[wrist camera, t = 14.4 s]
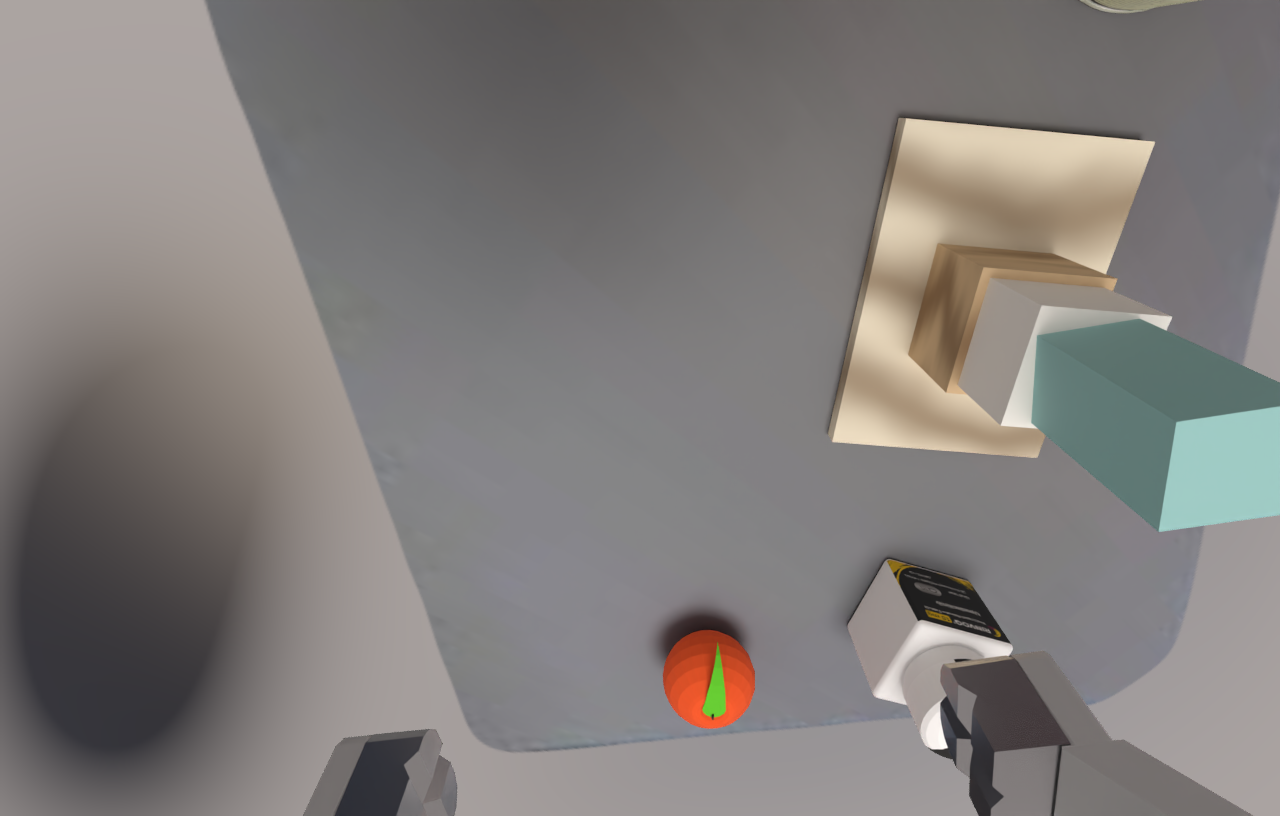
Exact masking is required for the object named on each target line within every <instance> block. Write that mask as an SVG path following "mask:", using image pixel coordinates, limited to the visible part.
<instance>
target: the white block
mask: <svg viewBox="0 0 1280 816" xmlns="http://www.w3.org/2000/svg"><path fill="white" fill-rule="evenodd" d="M1134 319H1142V320H1144V321H1146V322H1149V323H1151V324H1153V325H1155V326H1157V327H1159V328H1162V329H1164V330H1167V328H1168V326H1169V323H1170V321H1171V319H1172V316H1170V315H1167V314H1165V313H1163V312H1160V311H1158V310H1155V309H1153V308H1151V307H1148V306H1146V305H1144V304H1141V303H1139V302H1137V301H1134V300H1132V299H1130V298H1127V297H1125V296H1123V295H1120V294H1118V293H1116V292H1113V291H1111V290H1109V289H1106V288H1102V287H1091V286H1079V285H1068V284H1056V283H1045V282H1033V281H1022V280H1010V279H999V278H990V280H989V283H988V287H987V290H986V293H985V296H984V300H983V303H982V306H981V310H980V313H979V316H978V320H977V323H976V326H975V329H974V333H973V336H972V339H971V343H970V346H969V349H968V353H967V356H966V359H965V362H964V366H963V369H962V372H961V376H960V379H959V382H958V386H959V387H960V388H961V389H962V390H963V391H964V392H965V393H966V394H967V395H968V396H969V397H970V398H972V399H973V400H974V401H975V402H976V403H977V404H978V405H979V406H980V407H981V408H982V409H983V410H984V411H985V412H987V413H988V414H989V415H990V416H991V417H992V418H993V419H994V420H995V421H996V422H997V423H998V424H999V425H1000V426H1010V427H1023V428H1035V429H1038V428H1037V427H1035V426H1034V425H1033V424H1032V423H1031V418H1032V403H1033V387H1034V372H1035V357H1036V341H1037V335H1042V334H1048V333H1054V332H1060V331H1066V330H1073V329H1079V328H1085V327H1091V326H1097V325H1103V324H1109V323H1116V322H1122V321H1128V320H1134Z"/></svg>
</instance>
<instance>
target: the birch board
mask: <svg viewBox="0 0 1280 816" xmlns="http://www.w3.org/2000/svg"><path fill="white" fill-rule="evenodd" d="M1154 144H1155V142H1151V141H1141V140H1131V139H1120V138H1110V137H1099V136H1088V135H1078V134H1067V133H1057V132H1046V131H1035V130H1025V129H1014V128H1004V127H993V126H983V125H972V124H961V123H951V122H940V121H930V120H919V119H908V118H899V119H898V124H897V128H896V133H895V137H894V141H893V146H892V150H891V155H890V159H889V164H888V168H887V173H886V177H885V182H884V186H883V190H882V195H881V199H880V204H879V208H878V213H877V217H876V222H875V226H874V231H873V235H872V239H871V244H870V248H869V253H868V257H867V262H866V266H865V271H864V275H863V280H862V284H861V288H860V293H859V297H858V302H857V306H856V311H855V315H854V320H853V324H852V329H851V333H850V337H849V342H848V346H847V351H846V355H845V360H844V364H843V369H842V373H841V378H840V382H839V386H838V391H837V395H836V400H835V404H834V409H833V413H832V418H831V422H830V427H829V431H828V435H829V437H830V439H831V440H832V442H841V443H853V444H866V445H879V446H892V447H905V448H917V449H930V450H943V451H956V452H968V453H981V454H994V455H1007V456H1019V457H1032V458H1037V457H1038V454H1039V451H1040V449H1041V446H1042V443H1043V441H1044V438H1045V434H1044V433H1042V432H1041V431H1040V430H1039V429H1035V428H1023V427H1010V426H1000V425H999V424H998V423H997V422H996V421H995V420H994V419H993V418H992V417H991V416H990V415H989V414H988V413H987V412H985V411H984V410H983V409H982V408H981V407H980V406H979V405H978V404H977V403H976V402H975V401H974V400H973V399H972V398H970V397H969V396H968V395H965V394H952V393H946V392H945V391H944V390H943V389H942V388H941V387H940V386H939V385H938V384H937V383H936V382H935V381H934V380H933V379H932V378H931V377H930V376H929V375H928V374H927V373H926V372H925V371H924V370H923V369H922V368H921V367H920V366H919V365H918V364H917V363H916V362H915V361H914V360H913V359H912V358H911V357H909V356H908V353H909V349H910V345H911V342H912V338H913V334H914V330H915V327H916V323H917V319H918V315H919V311H920V308H921V304H922V300H923V296H924V293H925V289H926V285H927V281H928V277H929V274H930V270H931V266H932V262H933V259H934V255H935V251H936V247H937V244H938V243H939V244H950V245H961V246H973V247H984V248H995V249H1006V250H1018V251H1029V252H1040V253H1052V254H1056V255H1058V256H1061V257H1063V258H1066V259H1068V260H1071V261H1074V262H1076V263H1079V264H1081V265H1084V266H1086V267H1089V268H1091V269H1094V270H1096V271H1099V272H1101V273H1104V274H1106V272H1107V269H1108V267H1109V264H1110V261H1111V259H1112V256H1113V253H1114V251H1115V248H1116V245H1117V243H1118V240H1119V237H1120V235H1121V232H1122V229H1123V227H1124V224H1125V221H1126V219H1127V216H1128V213H1129V211H1130V208H1131V205H1132V203H1133V200H1134V197H1135V195H1136V192H1137V189H1138V187H1139V184H1140V181H1141V178H1142V176H1143V173H1144V170H1145V168H1146V165H1147V162H1148V160H1149V157H1150V154H1151V152H1152V149H1153V146H1154Z"/></svg>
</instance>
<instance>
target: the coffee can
mask: <svg viewBox="0 0 1280 816" xmlns="http://www.w3.org/2000/svg"><path fill="white" fill-rule="evenodd" d="M1079 1H1081V2H1083V3H1085V4H1086V5H1088V6H1090V7H1092V8H1095V9H1097V10H1101V11H1104V12H1111V13H1133V12H1140V11H1146V10H1149V9H1152V8H1155V7H1161V6H1168V5H1174V4H1181V3H1187V2H1193V1H1200V0H1079Z"/></svg>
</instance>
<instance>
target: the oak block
mask: <svg viewBox="0 0 1280 816" xmlns="http://www.w3.org/2000/svg"><path fill="white" fill-rule="evenodd" d="M990 278H999V279H1010V280H1022V281H1033V282H1045V283H1056V284H1068V285H1079V286H1091V287H1102V288H1106V289H1109V290H1111V291H1113V289H1114V287H1115V284H1116V281H1117V279H1116V278H1114V277H1111V276H1109V275H1106V274H1104V273H1101V272H1099V271H1096V270H1094V269H1091V268H1089V267H1086V266H1084V265H1081V264H1079V263H1076V262H1074V261H1071V260H1068V259H1066V258H1063V257H1061V256H1058V255H1056V254H1052V253H1040V252H1029V251H1018V250H1006V249H995V248H984V247H973V246H961V245H950V244H939V243H938V244H937V247H936V251H935V255H934V259H933V262H932V266H931V270H930V274H929V277H928V281H927V285H926V289H925V293H924V296H923V300H922V304H921V308H920V311H919V315H918V319H917V323H916V327H915V330H914V334H913V338H912V342H911V345H910V349H909V353H908V356H909V357H911V358H912V359H913V360H914V361H915V362H916V363H917V364H918V365H919V366H920V367H921V368H922V369H923V370H924V371H925V372H926V373H927V374H928V375H929V376H930V377H931V378H932V379H933V380H934V381H935V382H936V383H937V384H938V385H939V386H940V387H941V388H942V389H943V390H944V391H945V392H946V393H952V394H965V395H967V394H966V393H965V392H964V391H963V390H962V389H961V388H960V387H959V386H958V382H959V379H960V376H961V372H962V369H963V366H964V362H965V359H966V356H967V353H968V349H969V346H970V343H971V339H972V336H973V333H974V329H975V326H976V323H977V320H978V316H979V313H980V310H981V306H982V303H983V300H984V296H985V293H986V290H987V287H988V283H989V280H990Z"/></svg>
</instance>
